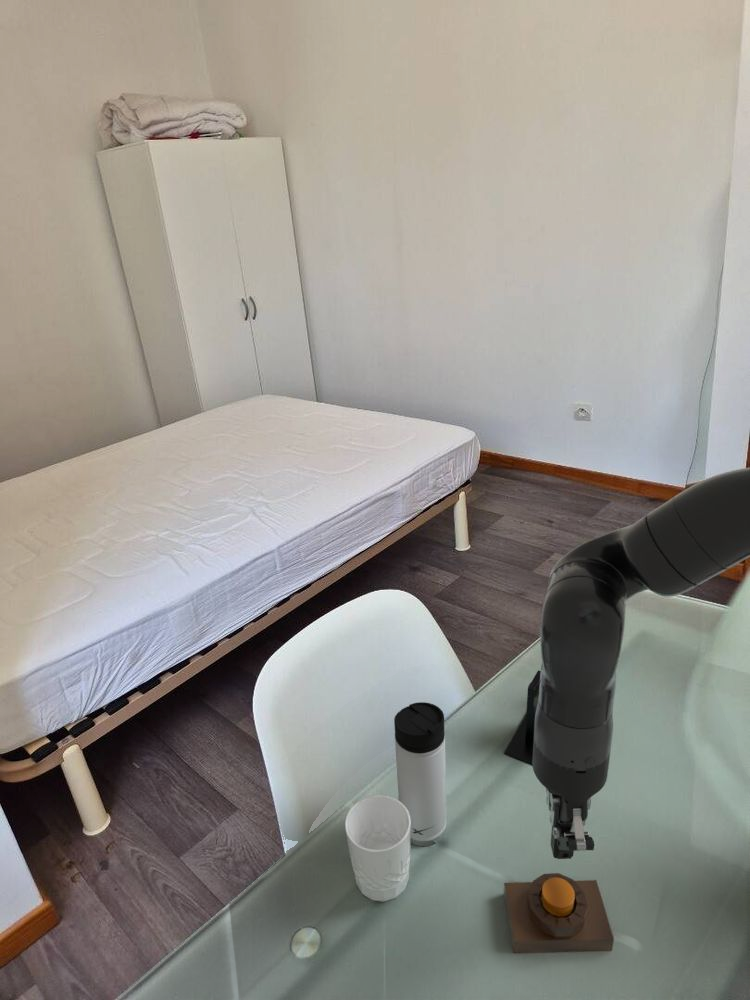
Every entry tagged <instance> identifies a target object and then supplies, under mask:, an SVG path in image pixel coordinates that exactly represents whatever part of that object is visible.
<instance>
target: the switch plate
mask: <svg viewBox="0 0 750 1000" xmlns="http://www.w3.org/2000/svg"><path fill="white" fill-rule="evenodd" d="M550 878H561V879H564V880H566V881H567V882H568V883H569V884H570V885H571V886H572V888H573V890H574V893H575V899H574V908H573V910H572V912H571V913H570V914H569V915H567V916H564V917H557V916H554V915H552V914H550V913H549V912H548V911H547V910H546V909H545V908H544V906H543V904H542V900H541V897H542V887H543V884H544V883H545V881H546V880H548V879H550ZM503 885H504V886H503V897H504V903H505V909H506V916H507V921H508V928H509V935H510V940H511V946H512V951H513V954H539V953H542V954H544V953H545V954H546V953H578V952H579V953H580V952H612V951H613V947H614V940H615V938H614V934H613V931H612V928H611V924H610V921H609V918H608V915H607V911H606V907H605V904H604V901H603V898H602V894H601V891H600V887H599V884H598V881H597V879H587V880H574V879H573V878H571V877H569V876H566V875H563V874H562V873H560V872H559V873H557V872H556V873H554V872H553V873H551V872H550V873H543V874H541V875H539V876H538V877H537V878H535V879H534V880H533V881H521V882H518V881H517V882H504V883H503Z"/></svg>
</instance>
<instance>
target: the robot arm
mask: <svg viewBox="0 0 750 1000" xmlns="http://www.w3.org/2000/svg"><path fill="white" fill-rule="evenodd" d="M748 558H750V466H749V467H744V468H738V469H734V470H729V471H725V472H723V473H722V472H721V473H719V474H716V475H713V476H710V477H708V478H705V479H703V480H701V481H699V482H696V483H695V484H692V485H691V486H690V487H687V488H686V489H684V490H682V491H681V492H679V493H678V494H677V495H675V496H674V497H671V498H670V499H669V500H667V501H666V502H663V504H661V505H660V506H658V507H657V508H654V509H653V510H652V511H650V512H649V513H647V514H645V515H644V516H642V517H641V518H639V519H638V520H637V521H636V522H634V523H632V524H631V525H627V526H624V527H621V528H617V529H615V530H612V531H610V532H607V533H604V534H603V535H600V536H597V537H594V538H592V539H590V540H587V541H586V542H583V543H581V544H579V545H577V546H575V547H573V548H572V549H570V551H568V552H566V554H564V555H563V556H562V557H561V558H560V559H558V561H556V563H555V564H554V565H553V567H552V569H551V570H550V573H549V576H548V581H547V583H546V589H545V594H544V599H543V601H542V607H541V613H540V614H541V615H540V629H539V631H540V632H539V633H540V635H539V637H540V639H539V640H540V642H539V643H540V656H541V667H540V671H541V672H540V687H539V700H538V705H537V708H536V714H535V726H534V742H533V760H532V765H531V766H532V771H533V773H534V775H535V777H536V779H537V780H538V782H539V783H540V784H541V785H542V786H543V787H544V788H545V792H546V798H545V801H546V802H545V803H546V805H547V808H548V811H549V818H548V819H549V822H550V824H551V832H550V849H551V853H552V857H553V858H554V859H557V860H571V859H572V858H573V857H574V852H576V851H578V852H579V851H594V850H595V841H594V839H593V836H590V832H589V831H585V829H584V827H585V826H586V823H587V822H586V821H587V819H588V814H589V810H590V809H591V806H592V797H594V796H595V795H597V793H599V792H600V791H601V790H602V789H603V788H604V786H605V785H606V783H607V780H608V776H609V775H608V773H609V766H610V765H609V764H610V759H611V750H612V743H613V735H614V734H613V733H614V716H613V715H614V714H613V713H614V705H615V704H614V703H615V696H616V685H617V668H618V664H619V660H620V655H621V651H622V645H623V640H624V634H625V624H626V604H627V603H626V602H627V601H628V600H629V599H631V598H632V597H634V596H636V595H637V594H639V593H642V592H645V591H648V590H649V591H650V592H652V593H653V594H655V595H658V596H660V597H666V598H669V597H670V598H671V597H676V596H679V595H681V594H684V593H687V592H689V591H691V590H693V589H694V588H696V587H698V586H699V585H702V584H704V583H705V582H707V581H709V580H710V579H713V578H714V577H717V576H718V575H720V574H721V573H723V572H726V571H727V570H729V569H731V568H733V567H734V566H736V565H738V564H740V563H742V562H743V561H745V560H747V559H748Z"/></svg>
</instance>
